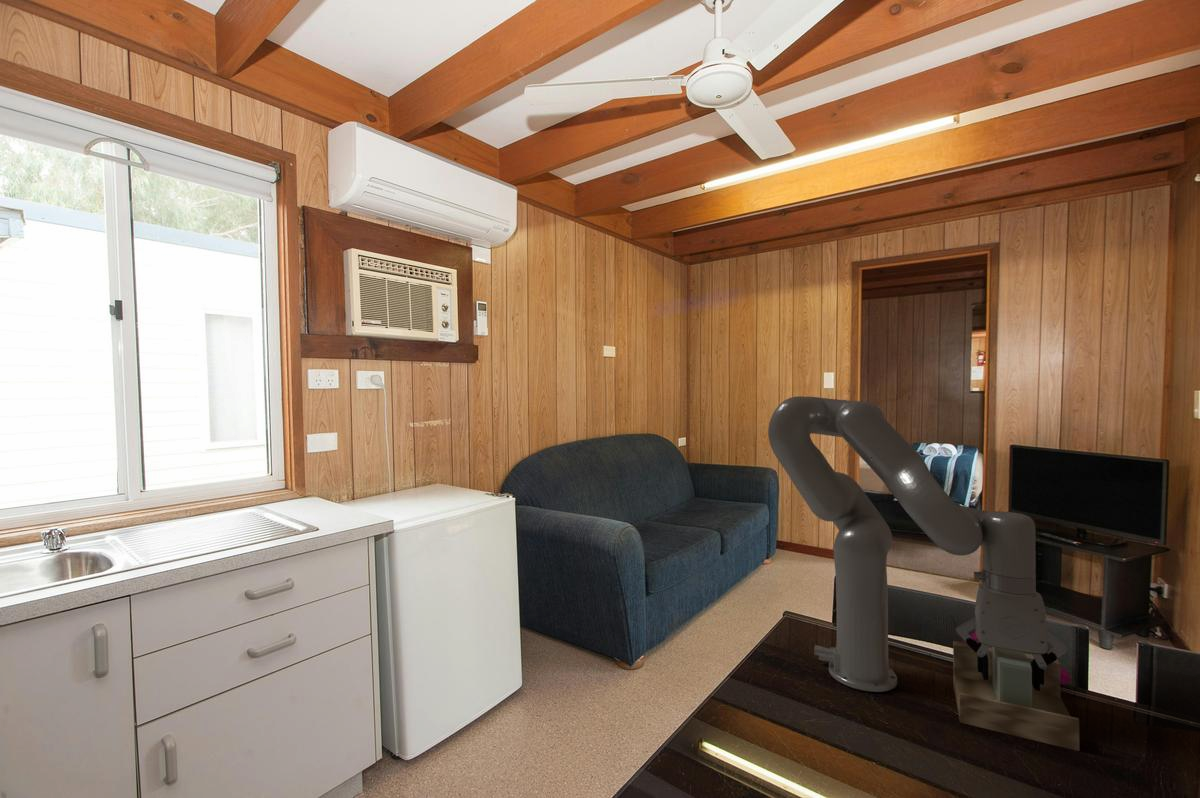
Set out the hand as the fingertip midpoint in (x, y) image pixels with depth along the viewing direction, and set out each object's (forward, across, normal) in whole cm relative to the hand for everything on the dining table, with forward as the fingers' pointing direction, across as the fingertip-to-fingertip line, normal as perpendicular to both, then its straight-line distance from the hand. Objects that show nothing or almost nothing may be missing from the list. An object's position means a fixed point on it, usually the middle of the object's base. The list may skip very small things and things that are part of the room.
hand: (1009, 681), depth 96 cm
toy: (+6, +3, +15) cm, 17 cm away
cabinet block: (+3, 0, 0) cm, 3 cm away
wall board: (+6, 0, 0) cm, 6 cm away
